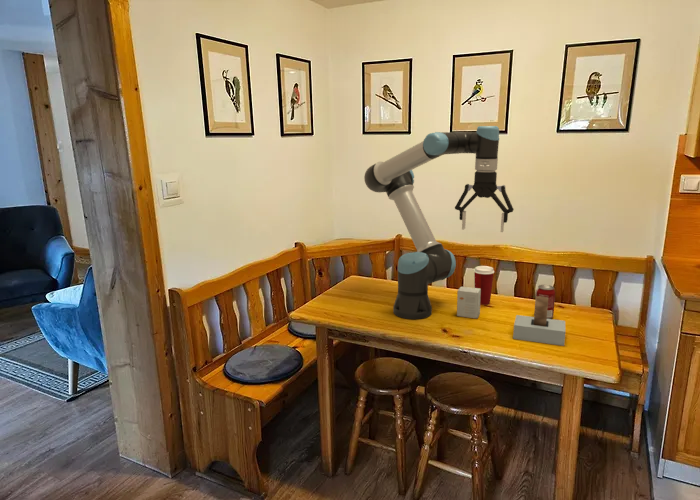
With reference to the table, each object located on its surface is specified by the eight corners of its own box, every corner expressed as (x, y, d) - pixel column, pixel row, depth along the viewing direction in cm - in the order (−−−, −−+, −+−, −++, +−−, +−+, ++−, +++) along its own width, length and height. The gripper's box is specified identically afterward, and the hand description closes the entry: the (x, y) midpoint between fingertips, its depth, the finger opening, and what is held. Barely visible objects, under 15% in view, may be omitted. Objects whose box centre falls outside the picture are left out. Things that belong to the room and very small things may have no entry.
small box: (480, 314, 186) (481, 288, 183) (477, 319, 181) (478, 292, 179) (459, 311, 189) (460, 286, 187) (456, 316, 184) (457, 290, 182)
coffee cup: (495, 301, 199) (497, 267, 196) (489, 307, 193) (491, 271, 189) (475, 298, 204) (477, 264, 200) (469, 303, 197) (470, 269, 194)
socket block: (513, 338, 163) (514, 325, 162) (515, 327, 172) (516, 314, 171) (564, 345, 157) (565, 331, 156) (563, 334, 166) (565, 320, 165)
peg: (532, 338, 163) (535, 299, 160) (533, 333, 167) (535, 295, 164) (545, 339, 162) (548, 300, 158) (545, 335, 165) (548, 297, 162)
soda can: (554, 320, 178) (557, 290, 175) (535, 319, 179) (538, 289, 176) (551, 314, 184) (553, 284, 182) (532, 313, 186) (535, 283, 183)
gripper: (448, 171, 169) (446, 229, 174) (522, 172, 159) (517, 234, 165) (452, 169, 176) (450, 226, 181) (524, 170, 166) (519, 230, 171)
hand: (482, 230), depth 173 cm, fingers open, 13 cm apart
